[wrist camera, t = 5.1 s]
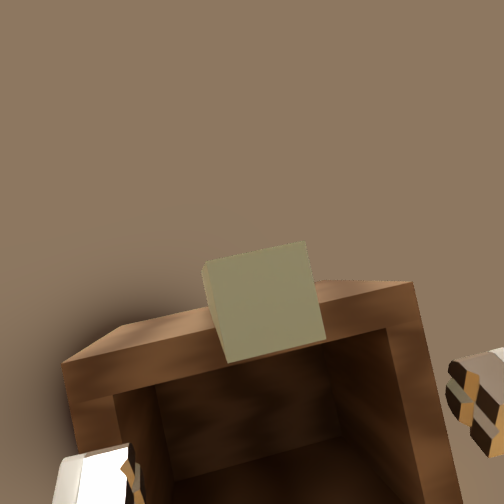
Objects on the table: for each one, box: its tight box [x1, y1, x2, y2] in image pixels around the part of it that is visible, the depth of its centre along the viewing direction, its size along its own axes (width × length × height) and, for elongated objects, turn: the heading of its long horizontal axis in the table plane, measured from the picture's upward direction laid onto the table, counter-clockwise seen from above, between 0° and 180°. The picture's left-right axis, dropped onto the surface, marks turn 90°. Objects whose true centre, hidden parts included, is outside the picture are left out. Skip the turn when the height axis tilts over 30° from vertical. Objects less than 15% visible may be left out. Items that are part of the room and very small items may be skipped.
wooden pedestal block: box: [61, 280, 463, 504], centre depth 29 cm, size 18×16×26 cm
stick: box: [201, 241, 326, 363], centre depth 24 cm, size 3×23×3 cm, turn 7°
